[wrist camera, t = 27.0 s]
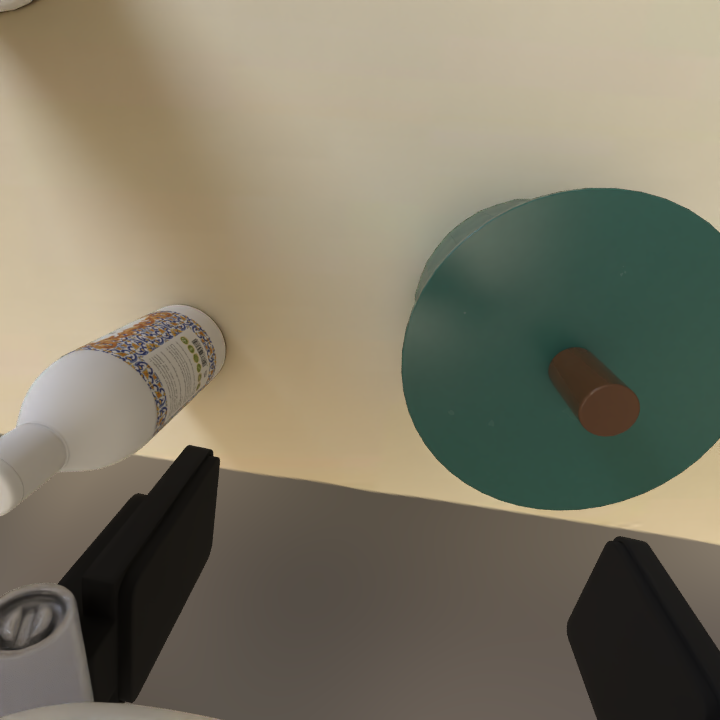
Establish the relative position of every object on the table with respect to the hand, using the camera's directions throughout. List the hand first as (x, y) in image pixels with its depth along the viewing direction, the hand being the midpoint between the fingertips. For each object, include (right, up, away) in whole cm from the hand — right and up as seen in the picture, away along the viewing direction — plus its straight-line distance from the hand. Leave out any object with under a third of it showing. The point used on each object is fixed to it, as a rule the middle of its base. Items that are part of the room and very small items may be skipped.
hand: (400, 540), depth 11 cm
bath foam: (-15, +6, +28) cm, 32 cm away
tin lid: (+10, +4, +13) cm, 17 cm away
